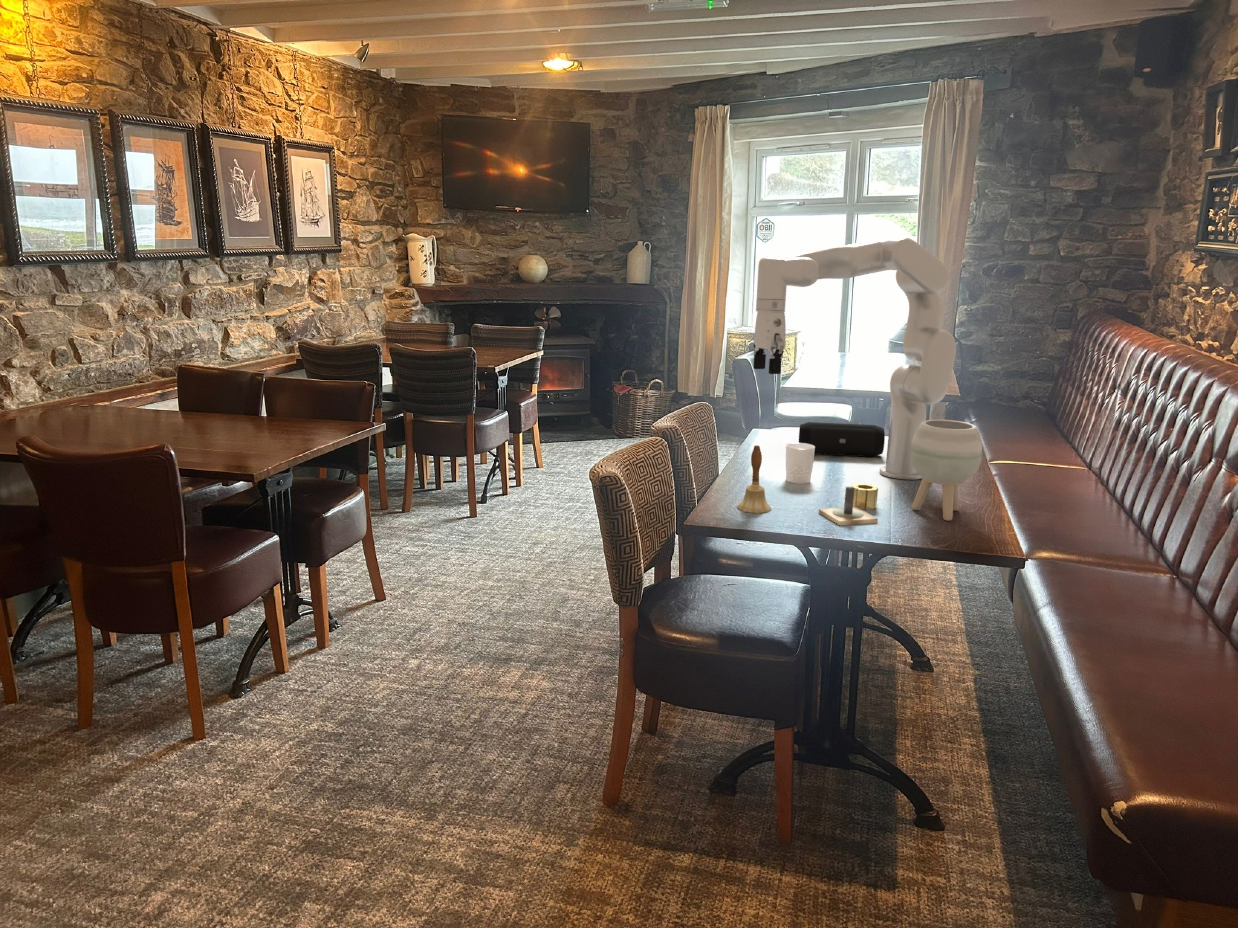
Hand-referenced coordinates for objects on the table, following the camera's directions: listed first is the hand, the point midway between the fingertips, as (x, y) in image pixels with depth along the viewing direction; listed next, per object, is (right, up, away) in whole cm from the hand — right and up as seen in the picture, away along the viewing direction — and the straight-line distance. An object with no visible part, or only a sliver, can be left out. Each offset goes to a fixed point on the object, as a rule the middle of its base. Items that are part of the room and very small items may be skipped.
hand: (766, 371), depth 227 cm
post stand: (+16, -38, -22) cm, 46 cm away
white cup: (+11, -30, +11) cm, 33 cm away
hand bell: (-6, -36, -15) cm, 40 cm away
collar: (+22, -35, -12) cm, 43 cm away
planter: (+39, -37, -17) cm, 57 cm away
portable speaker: (+31, -22, +44) cm, 58 cm away
